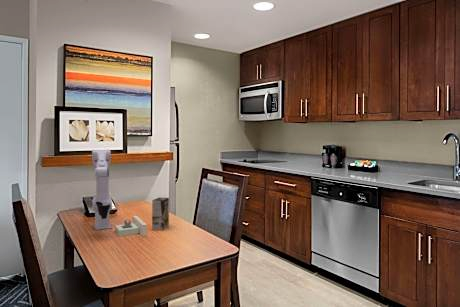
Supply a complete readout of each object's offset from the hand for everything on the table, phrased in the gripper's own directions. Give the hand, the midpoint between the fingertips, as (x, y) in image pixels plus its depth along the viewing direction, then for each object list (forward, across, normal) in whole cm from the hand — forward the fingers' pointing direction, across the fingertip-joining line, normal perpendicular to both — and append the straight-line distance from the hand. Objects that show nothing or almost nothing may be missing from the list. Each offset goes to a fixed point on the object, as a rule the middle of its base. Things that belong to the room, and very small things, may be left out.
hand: (102, 216), depth 166 cm
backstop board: (+9, +2, +18) cm, 20 cm away
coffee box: (+10, +1, +30) cm, 32 cm away
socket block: (+9, +1, +12) cm, 15 cm away
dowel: (+9, +1, +12) cm, 15 cm away
